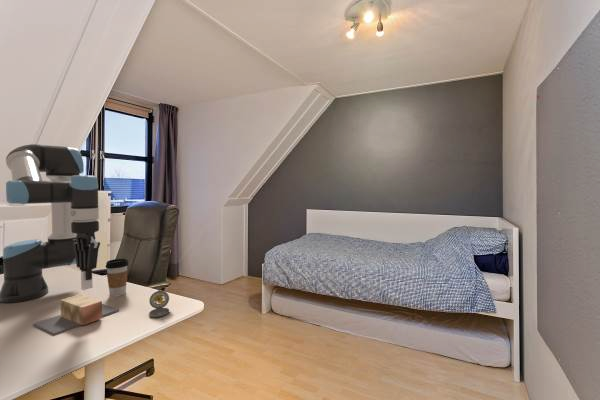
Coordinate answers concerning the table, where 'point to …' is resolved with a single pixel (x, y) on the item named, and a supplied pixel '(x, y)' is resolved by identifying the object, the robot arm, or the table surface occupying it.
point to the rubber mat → (66, 322)
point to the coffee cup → (117, 276)
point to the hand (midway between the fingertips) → (87, 288)
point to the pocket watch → (159, 307)
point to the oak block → (81, 309)
